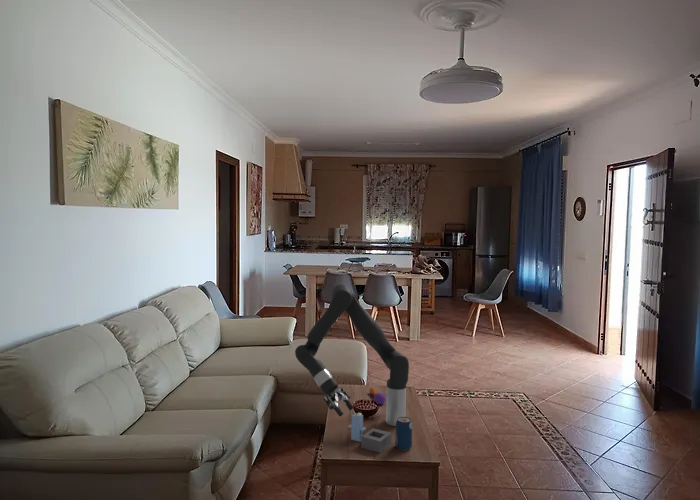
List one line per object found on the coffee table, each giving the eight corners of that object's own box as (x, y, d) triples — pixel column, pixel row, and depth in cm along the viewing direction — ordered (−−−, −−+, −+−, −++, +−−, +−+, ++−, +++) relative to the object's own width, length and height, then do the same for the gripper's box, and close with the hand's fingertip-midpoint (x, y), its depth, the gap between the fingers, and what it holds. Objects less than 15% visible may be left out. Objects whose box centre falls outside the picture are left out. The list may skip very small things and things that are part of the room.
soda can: (415, 447, 205) (415, 419, 205) (404, 452, 200) (405, 424, 200) (402, 442, 210) (403, 414, 210) (391, 447, 205) (392, 419, 205)
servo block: (347, 438, 213) (348, 412, 212) (351, 436, 215) (351, 410, 215) (362, 442, 209) (363, 416, 208) (366, 440, 212) (366, 413, 211)
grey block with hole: (372, 439, 213) (372, 428, 213) (391, 444, 208) (391, 433, 208) (361, 447, 204) (361, 436, 204) (380, 453, 200) (380, 441, 199)
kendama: (378, 385, 273) (387, 395, 253) (376, 396, 273) (385, 406, 253) (368, 384, 272) (376, 393, 252) (366, 395, 272) (374, 405, 252)
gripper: (321, 381, 212) (343, 412, 207) (339, 373, 224) (360, 402, 219) (311, 390, 215) (333, 422, 210) (329, 382, 227) (350, 411, 222)
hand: (347, 412), depth 214 cm, fingers open, 8 cm apart
